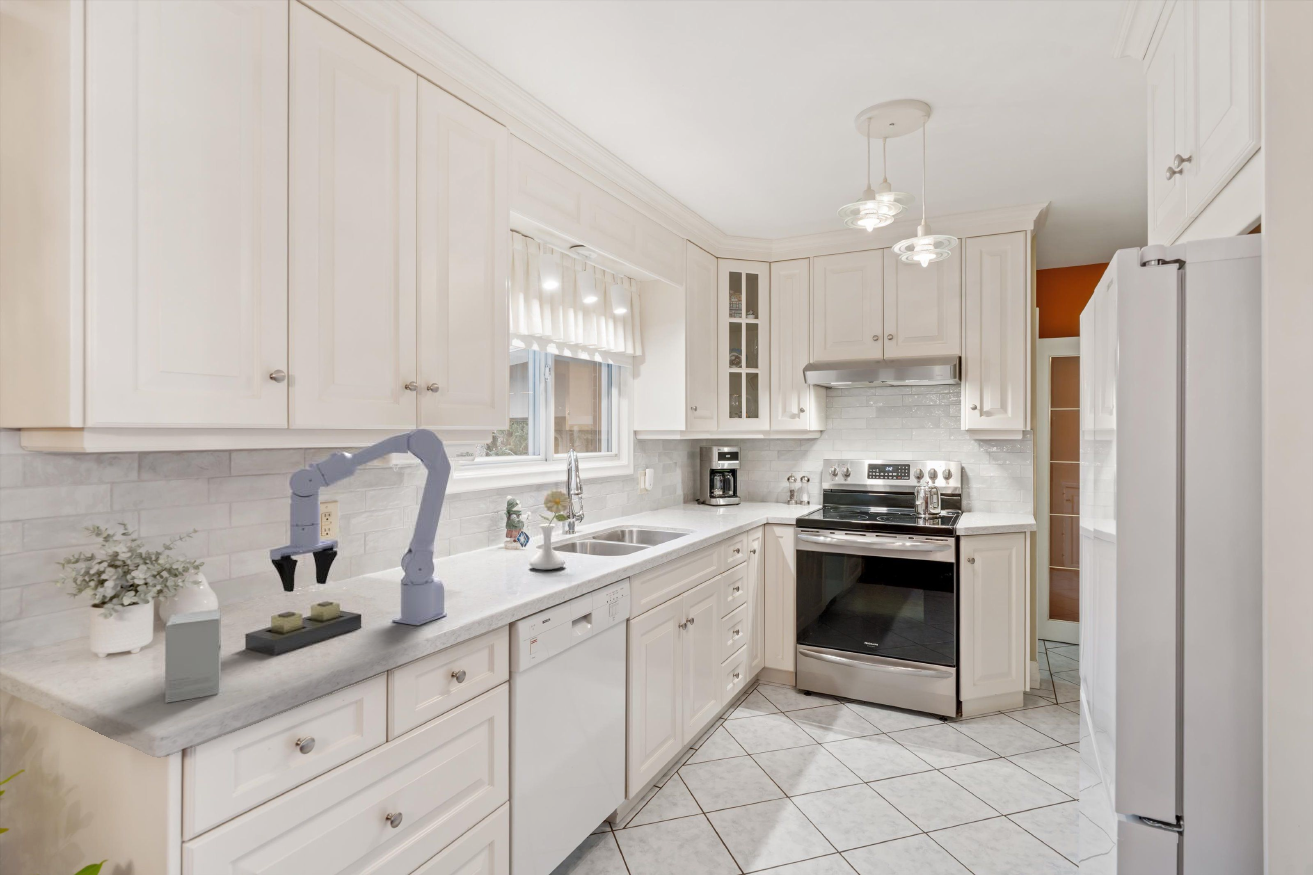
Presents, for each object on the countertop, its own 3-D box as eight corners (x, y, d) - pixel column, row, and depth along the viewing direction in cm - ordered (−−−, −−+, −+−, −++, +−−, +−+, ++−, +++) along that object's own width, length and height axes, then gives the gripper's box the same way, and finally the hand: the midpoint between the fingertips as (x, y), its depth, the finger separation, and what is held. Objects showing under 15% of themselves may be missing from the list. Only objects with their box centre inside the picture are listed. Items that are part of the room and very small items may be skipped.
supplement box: (219, 694, 107) (219, 618, 107) (163, 704, 104) (163, 625, 103) (222, 679, 114) (221, 607, 114) (169, 688, 110) (169, 613, 110)
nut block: (289, 639, 136) (289, 609, 135) (302, 642, 134) (302, 612, 134) (271, 645, 132) (271, 614, 132) (283, 648, 130) (283, 617, 130)
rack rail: (333, 622, 148) (333, 609, 148) (361, 627, 144) (361, 614, 144) (245, 648, 130) (245, 633, 130) (274, 655, 126) (274, 640, 126)
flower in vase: (524, 571, 202) (524, 491, 201) (535, 564, 213) (535, 488, 213) (565, 572, 200) (565, 491, 200) (574, 565, 211) (574, 488, 211)
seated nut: (327, 628, 144) (327, 599, 144) (339, 630, 142) (339, 601, 142) (310, 633, 140) (310, 604, 140) (323, 635, 138) (323, 606, 138)
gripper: (322, 519, 148) (322, 578, 148) (260, 527, 135) (260, 592, 135) (344, 520, 145) (344, 581, 145) (282, 529, 132) (282, 596, 132)
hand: (305, 587), depth 140 cm, fingers open, 7 cm apart
